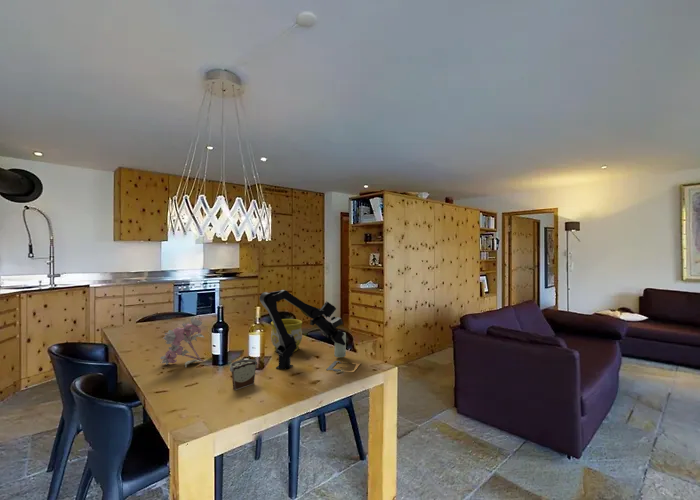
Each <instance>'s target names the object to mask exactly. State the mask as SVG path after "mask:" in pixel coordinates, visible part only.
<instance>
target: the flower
mask: <svg viewBox="0 0 700 500" xmlns="http://www.w3.org/2000/svg"><path fill="white" fill-rule="evenodd" d="M200 318H201V316H200V315H199V317H198V318H197V317H195V318H194V317H192V318H191V319H190V321H188V322H183V323H182V327H179V326H178V327H175V328H173V329H172V330H171V329H169V330H168V331H167V332H164V337H162V338H163V340H165V344H166V345H170V346H168V350H167V351H166V352H165V355H162V356H160V358H159V359H160V360H161V361H160V362H159V363H160V364H161V365H162V364H165V366H167V365H168V364H176V362H177V359H176V358H177V357H178V356H182V357H188V358H191V360H187V361H185V362H184V366H185V368H187V366H188V365H190V364H193V363H195V362H196V363H197V362H204V360H203V359H201V357H200V355H199V354H198V352H197V350H196V349H195V347H194V345H193V343H192V342H193V341H196V342H198V341H197V340H198V339H197V338H203V339H205V336H204V335H203V334H202V330H201V327H200V326H201V325H202V323H203V321H202V320H203V319H200ZM194 333H196V334H194ZM182 341H184V342H185V343H187V344H188V346H189V347H190V348H191V349H192V352H194V355H195V356H193V355H191V354H190V353H191V352H189V351H188V350H187V349H185V346H182V344H181V342H182Z"/></svg>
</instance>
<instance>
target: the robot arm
mask: <svg viewBox="0 0 700 500" xmlns="http://www.w3.org/2000/svg"><path fill="white" fill-rule="evenodd" d="M258 299H259V301H260V303H261V305H262V306H263V307H264V308H265V310H266V311H267V313H268V315H269V317H270V319H271V320H272V321H273V323H274V326H275V328H276V330H277V332H278V334H279V341H280V346H279V347H278V348H277V349H276V351H275V352H276V354H277V355H278V366H276V367H275V369H276V370H283V371H284V370H285V371H288V370H290V369H291V368H293V367H294V365H293V364H291V357H293V356H294V353H295V352H296V351H295V349H296V343H297V342H296V341H295V339H294V336H293V335H291V334H288V333H287V330H286V328H285V326H284V324H283V321H282V319H283V318H282V317H281V315H280V312H279V310H278V304H277V302H280V301H282V300H285V301H286V302H288V303H290V304H291V305H293V306H294V307H296V308H297V309H298V310H299V311H300V312H301V313H302V314H303V315H304V316H305V317H307V318H310V319H309V321H310V322H309V325H311V326H317V327H318V328H319V330H320V331H321V334H322V335H323V336H325V337H326V338H327V339H330V340H332V342H334V343H335V342H336V343H339V344H342V345H345V342H344V340H343V338H342V336H343V335H344V333H343V332H344V331H343V330H341V329H338V327H339V326H342V325H343V324H344V323H343V320H342V318H341V317H339V316H334V315H333V314H334V313H335V312H336V310H337V307H335V305H333V304H331V303H330V302H329V301H327V300H326V301H325V302H324V304H323V305H322V307H321V308H319V307H315V306H313V305H310V304H309V303H305V302H304V301H302V300H301V299H299V298H298V297H296V296H295V295H293V294H291V293H290V292H289V291H288V290H285V289H281V290H277V291H271V292H267V291H265V292H262V293H261V294H260V295H259V298H258ZM332 315H333V316H332ZM327 318H330V321H329V320H328V319H327ZM272 321H271V322H272ZM294 351H295V352H294Z"/></svg>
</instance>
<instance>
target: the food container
mask: <svg viewBox="0 0 700 500" xmlns="http://www.w3.org/2000/svg"><path fill="white" fill-rule="evenodd" d="M257 362H258V361H257V360H256V359H251V358H250V359H249V358H248V359H239V360H235V361H233V362H231V363H230V366H229V371H230V372H231V379H232V389H233V390H234V391H237V390H240V389H243V388H246V387H248V386H252V385H254V384H255V380H256V366H258V363H257Z"/></svg>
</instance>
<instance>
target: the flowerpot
mask: <svg viewBox="0 0 700 500" xmlns="http://www.w3.org/2000/svg"><path fill="white" fill-rule="evenodd" d="M281 319H282V321H283V324H284V326H285V328H286V330H287V333H288V334H291V335H293V336H294V339H295V341H296V342H297V343H296V349H295V351H294V353H295V352H298V350H299V349H300V345H301V342H302V339H303V330H302V327H303V326H302V325H303V321H302V320H300V319H297V318H296V319H295V318H281ZM270 326H271V331H270V339H271V344H272V345H273V350H275V352H276V349H277V348H278V347H279V346H280V341H279V334H278V332H277V330H276V328H275V326H274V323H273V321H271V322H270Z"/></svg>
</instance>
